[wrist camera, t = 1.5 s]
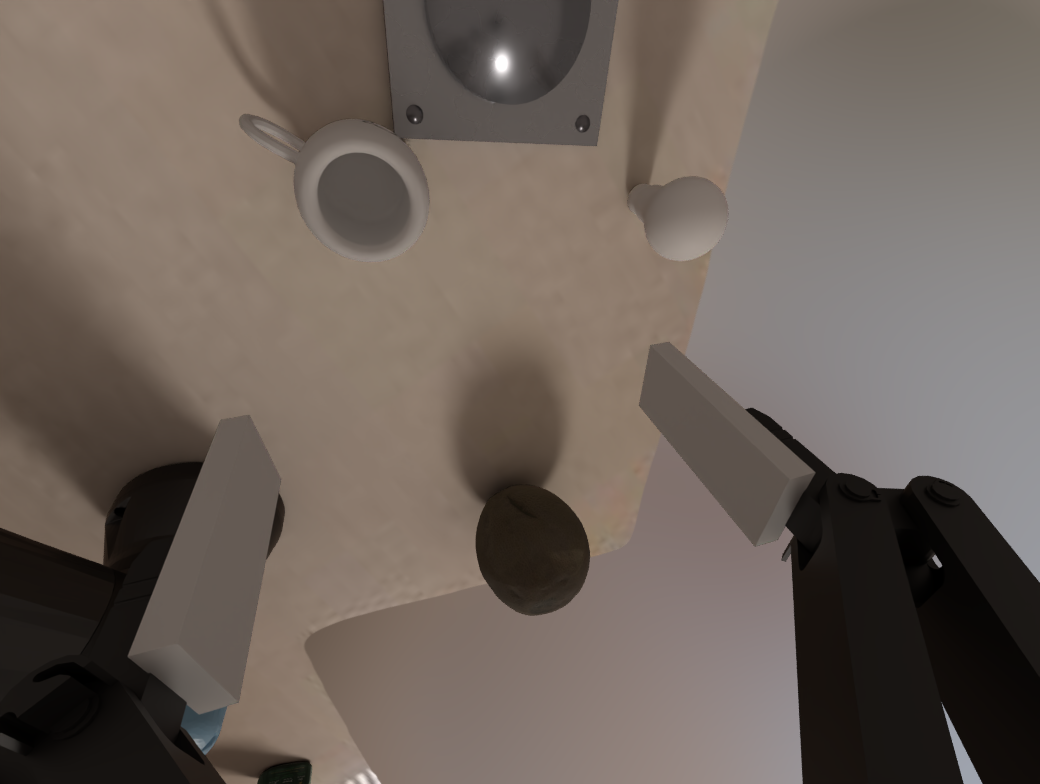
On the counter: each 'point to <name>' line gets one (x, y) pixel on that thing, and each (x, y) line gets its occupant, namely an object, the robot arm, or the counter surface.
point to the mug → (353, 185)
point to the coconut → (532, 549)
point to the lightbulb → (681, 216)
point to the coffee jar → (287, 774)
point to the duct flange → (499, 69)
